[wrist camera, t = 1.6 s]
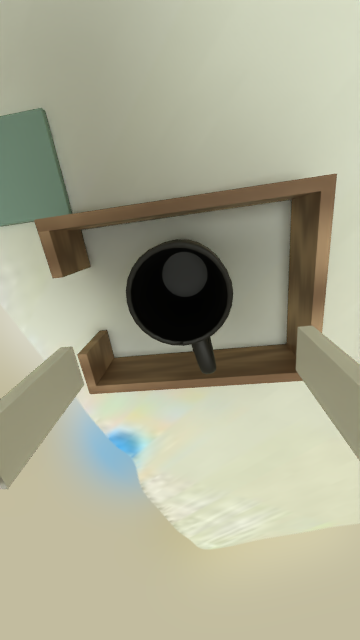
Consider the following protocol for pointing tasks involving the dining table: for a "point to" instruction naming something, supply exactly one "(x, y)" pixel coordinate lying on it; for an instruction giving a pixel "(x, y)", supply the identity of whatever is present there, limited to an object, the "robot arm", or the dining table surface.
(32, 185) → the mat
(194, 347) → the mug
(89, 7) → the dining table surface
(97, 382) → the wooden tray frame
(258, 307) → the dining table surface
